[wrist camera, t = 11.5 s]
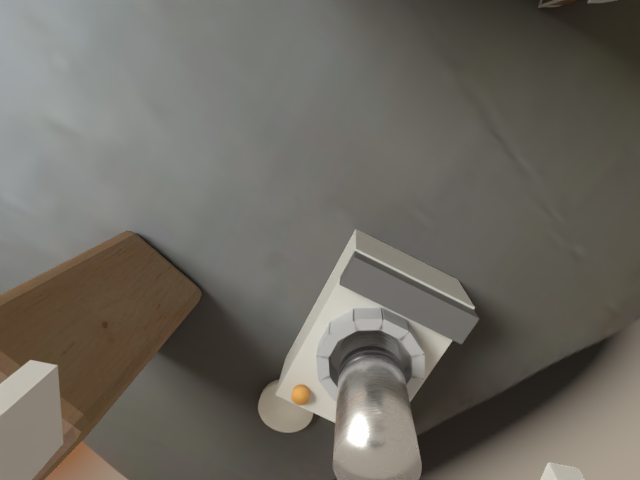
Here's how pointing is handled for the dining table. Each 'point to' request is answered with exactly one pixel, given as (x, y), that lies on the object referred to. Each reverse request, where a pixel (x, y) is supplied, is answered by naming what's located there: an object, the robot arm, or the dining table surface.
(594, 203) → the dining table surface
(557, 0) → the food container
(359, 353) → the grey tall rounded cylinder
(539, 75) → the dining table surface
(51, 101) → the dining table surface
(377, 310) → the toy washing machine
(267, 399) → the rear cap
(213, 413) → the dining table surface
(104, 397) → the wooden block
